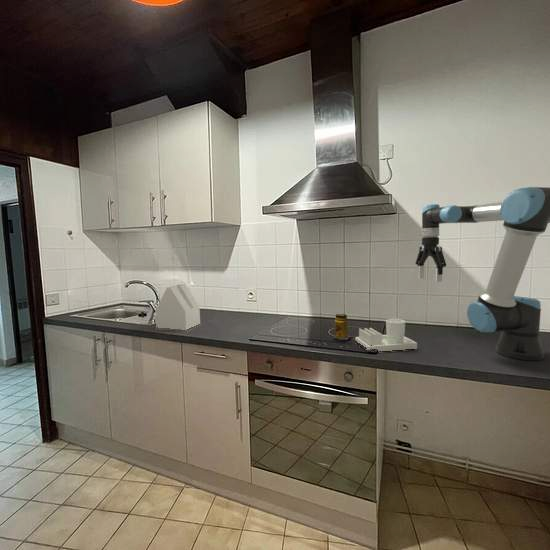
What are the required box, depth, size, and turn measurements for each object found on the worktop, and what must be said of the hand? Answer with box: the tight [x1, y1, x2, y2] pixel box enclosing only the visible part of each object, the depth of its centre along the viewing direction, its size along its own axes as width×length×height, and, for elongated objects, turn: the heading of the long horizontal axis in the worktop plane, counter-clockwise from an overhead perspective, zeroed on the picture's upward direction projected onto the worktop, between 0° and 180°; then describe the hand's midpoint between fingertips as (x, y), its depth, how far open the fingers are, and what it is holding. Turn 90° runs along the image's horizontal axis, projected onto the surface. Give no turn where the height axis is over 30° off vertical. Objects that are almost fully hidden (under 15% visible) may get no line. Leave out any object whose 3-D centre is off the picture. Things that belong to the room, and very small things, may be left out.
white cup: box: [385, 318, 406, 344], centre depth 136 cm, size 8×8×10 cm
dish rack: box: [354, 327, 418, 352], centre depth 137 cm, size 14×22×7 cm, turn 98°
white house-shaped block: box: [155, 283, 201, 330], centre depth 179 cm, size 19×15×25 cm
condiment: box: [334, 313, 349, 338], centre depth 149 cm, size 7×8×12 cm
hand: (429, 280), depth 153 cm, fingers open, 13 cm apart
